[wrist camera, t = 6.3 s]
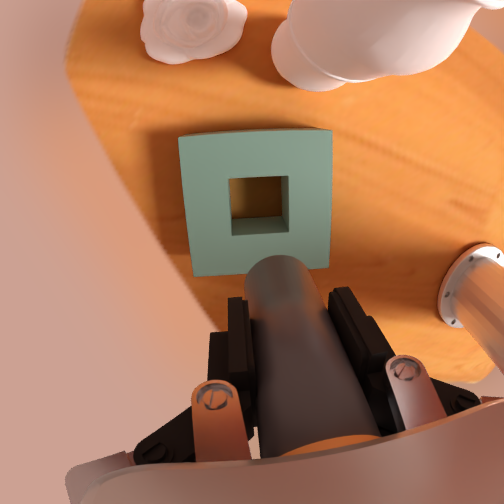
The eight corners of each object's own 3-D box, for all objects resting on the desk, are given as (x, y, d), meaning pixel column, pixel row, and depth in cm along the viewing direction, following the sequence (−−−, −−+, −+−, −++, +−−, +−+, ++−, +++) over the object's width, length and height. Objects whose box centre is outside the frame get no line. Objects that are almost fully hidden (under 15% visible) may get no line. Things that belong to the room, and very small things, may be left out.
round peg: (314, 249, 15) (428, 471, 5) (312, 311, 16) (385, 519, 6) (239, 255, 14) (261, 509, 4) (244, 317, 16) (265, 543, 6)
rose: (164, -52, 16) (270, -20, 18) (173, -33, 20) (265, -3, 22) (107, 42, 20) (213, 78, 22) (124, 51, 24) (216, 84, 26)
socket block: (318, 128, 28) (332, 130, 24) (317, 248, 33) (328, 267, 28) (186, 134, 27) (177, 137, 23) (198, 255, 32) (193, 276, 28)
